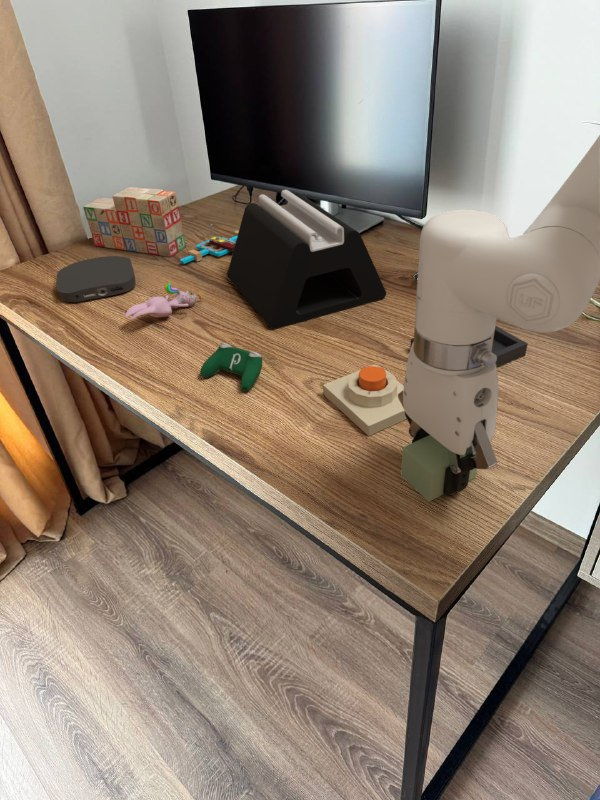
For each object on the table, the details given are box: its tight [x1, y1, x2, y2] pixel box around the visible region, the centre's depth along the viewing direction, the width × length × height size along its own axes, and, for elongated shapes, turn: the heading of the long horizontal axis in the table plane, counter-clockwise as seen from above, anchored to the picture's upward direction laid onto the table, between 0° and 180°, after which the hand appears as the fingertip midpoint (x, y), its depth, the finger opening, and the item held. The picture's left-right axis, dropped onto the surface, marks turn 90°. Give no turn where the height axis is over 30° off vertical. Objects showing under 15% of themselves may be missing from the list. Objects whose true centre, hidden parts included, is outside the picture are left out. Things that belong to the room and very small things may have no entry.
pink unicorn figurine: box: [124, 281, 203, 321], centre depth 103 cm, size 6×6×15 cm
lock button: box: [359, 365, 386, 391], centre depth 78 cm, size 4×4×2 cm
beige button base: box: [322, 364, 407, 437], centre depth 80 cm, size 11×9×4 cm
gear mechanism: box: [179, 223, 239, 265], centre depth 126 cm, size 20×5×9 cm
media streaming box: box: [55, 255, 137, 303], centre depth 117 cm, size 15×15×3 cm
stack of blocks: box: [83, 186, 187, 258], centre depth 129 cm, size 21×6×12 cm, turn 66°
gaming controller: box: [199, 341, 263, 393], centre depth 87 cm, size 9×4×6 cm
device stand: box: [226, 189, 387, 330], centre depth 105 cm, size 22×22×15 cm
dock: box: [409, 325, 529, 368], centre depth 88 cm, size 11×13×2 cm
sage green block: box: [400, 435, 478, 503], centre depth 67 cm, size 5×7×4 cm
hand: (438, 474), depth 68 cm, fingers closed on sage green block, 5 cm apart
